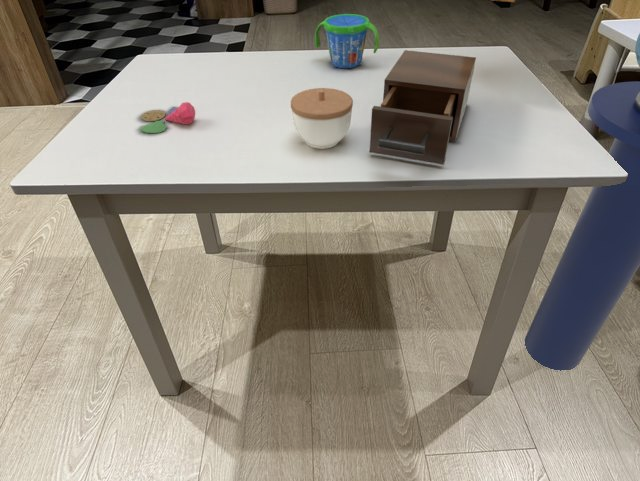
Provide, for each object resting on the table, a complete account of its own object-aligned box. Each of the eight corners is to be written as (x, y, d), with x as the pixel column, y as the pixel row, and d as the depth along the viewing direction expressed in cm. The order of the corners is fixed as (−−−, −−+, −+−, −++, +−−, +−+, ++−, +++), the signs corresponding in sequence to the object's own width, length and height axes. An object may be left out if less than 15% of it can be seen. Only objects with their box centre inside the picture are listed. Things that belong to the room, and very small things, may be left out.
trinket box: (330, 121, 89) (330, 74, 82) (363, 144, 82) (365, 94, 76) (282, 137, 84) (278, 87, 78) (312, 162, 78) (311, 110, 71)
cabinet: (455, 142, 82) (465, 89, 75) (380, 130, 86) (384, 79, 79) (466, 106, 93) (476, 57, 86) (400, 97, 97) (404, 50, 90)
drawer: (437, 183, 70) (445, 137, 65) (359, 169, 74) (361, 124, 69) (456, 125, 84) (464, 83, 79) (390, 115, 88) (393, 75, 83)
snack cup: (307, 66, 111) (306, 22, 105) (327, 52, 118) (326, 10, 112) (366, 76, 106) (369, 30, 99) (383, 61, 113) (386, 17, 106)
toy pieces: (204, 107, 95) (200, 87, 92) (192, 133, 86) (187, 111, 83) (147, 108, 95) (141, 88, 92) (130, 134, 87) (123, 112, 84)
